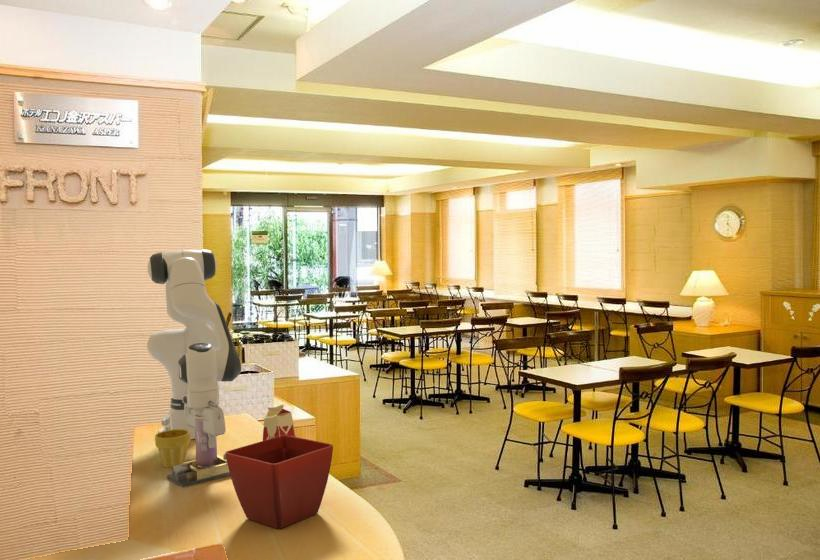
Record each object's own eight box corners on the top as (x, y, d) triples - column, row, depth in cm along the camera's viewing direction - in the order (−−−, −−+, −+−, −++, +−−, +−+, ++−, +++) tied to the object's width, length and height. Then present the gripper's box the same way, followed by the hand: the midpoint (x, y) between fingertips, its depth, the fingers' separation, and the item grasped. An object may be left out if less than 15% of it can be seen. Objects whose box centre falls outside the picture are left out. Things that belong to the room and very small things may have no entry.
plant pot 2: (287, 496, 182) (284, 433, 181) (338, 511, 169) (335, 444, 169) (226, 520, 167) (223, 451, 166) (277, 538, 155) (274, 464, 154)
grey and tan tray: (167, 478, 201) (166, 462, 201) (233, 461, 214) (232, 446, 214) (183, 487, 192) (182, 470, 192) (251, 469, 206) (250, 453, 205)
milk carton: (302, 469, 204) (299, 402, 203) (277, 477, 198) (274, 408, 197) (284, 463, 211) (281, 398, 210) (259, 471, 204) (255, 404, 203)
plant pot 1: (191, 466, 211) (189, 435, 211) (155, 471, 208) (153, 439, 208) (191, 457, 221) (190, 427, 221) (157, 461, 218) (155, 431, 218)
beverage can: (220, 461, 205) (218, 412, 205) (212, 468, 200) (210, 417, 199) (201, 461, 206) (199, 412, 205) (192, 468, 200) (191, 417, 199)
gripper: (229, 402, 196) (232, 449, 197) (199, 392, 212) (202, 437, 212) (208, 406, 192) (211, 454, 193) (179, 396, 207) (182, 441, 208)
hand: (206, 445), depth 202 cm, fingers closed on beverage can, 5 cm apart
